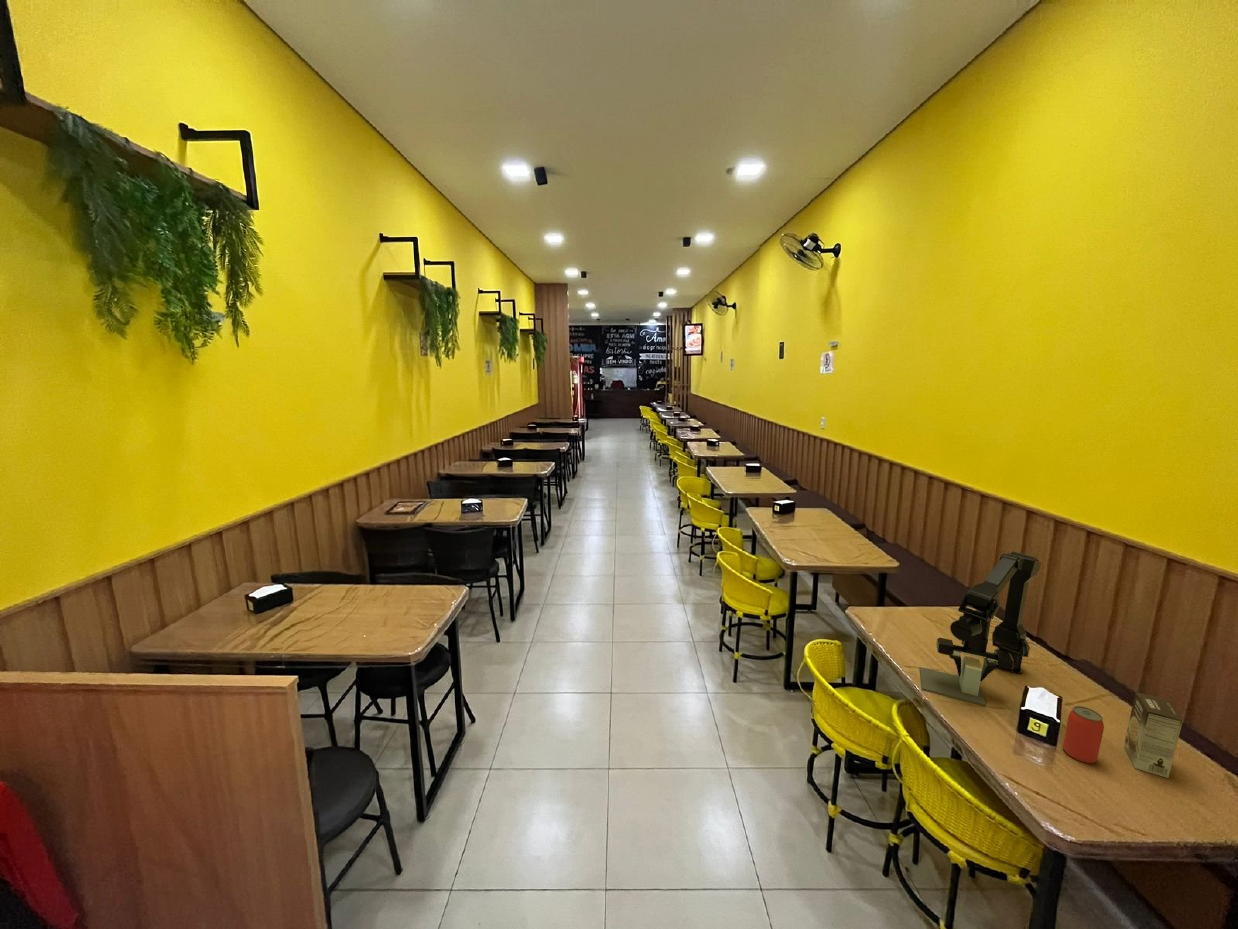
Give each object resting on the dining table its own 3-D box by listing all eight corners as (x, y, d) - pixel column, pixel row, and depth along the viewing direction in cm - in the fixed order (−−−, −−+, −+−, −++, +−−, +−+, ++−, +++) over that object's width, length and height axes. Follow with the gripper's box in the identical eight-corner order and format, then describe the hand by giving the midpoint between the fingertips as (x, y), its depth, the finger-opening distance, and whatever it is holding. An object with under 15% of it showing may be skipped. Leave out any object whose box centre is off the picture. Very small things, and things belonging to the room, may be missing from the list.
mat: (978, 682, 156) (978, 681, 156) (985, 706, 145) (985, 704, 145) (919, 668, 164) (919, 666, 164) (922, 689, 153) (922, 688, 152)
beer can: (1090, 750, 128) (1098, 708, 126) (1101, 768, 123) (1110, 725, 120) (1058, 742, 131) (1065, 701, 129) (1067, 759, 125) (1076, 717, 123)
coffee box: (1121, 745, 130) (1134, 690, 127) (1156, 755, 127) (1169, 699, 124) (1133, 768, 123) (1146, 710, 120) (1170, 779, 119) (1185, 720, 116)
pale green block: (974, 685, 154) (978, 659, 152) (977, 696, 149) (982, 669, 147) (959, 681, 156) (963, 655, 154) (961, 692, 151) (965, 665, 149)
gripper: (1009, 627, 152) (1002, 673, 154) (937, 613, 160) (931, 657, 163) (1018, 644, 142) (1009, 693, 145) (941, 628, 151) (934, 674, 153)
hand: (969, 678), depth 152 cm, fingers open, 5 cm apart
